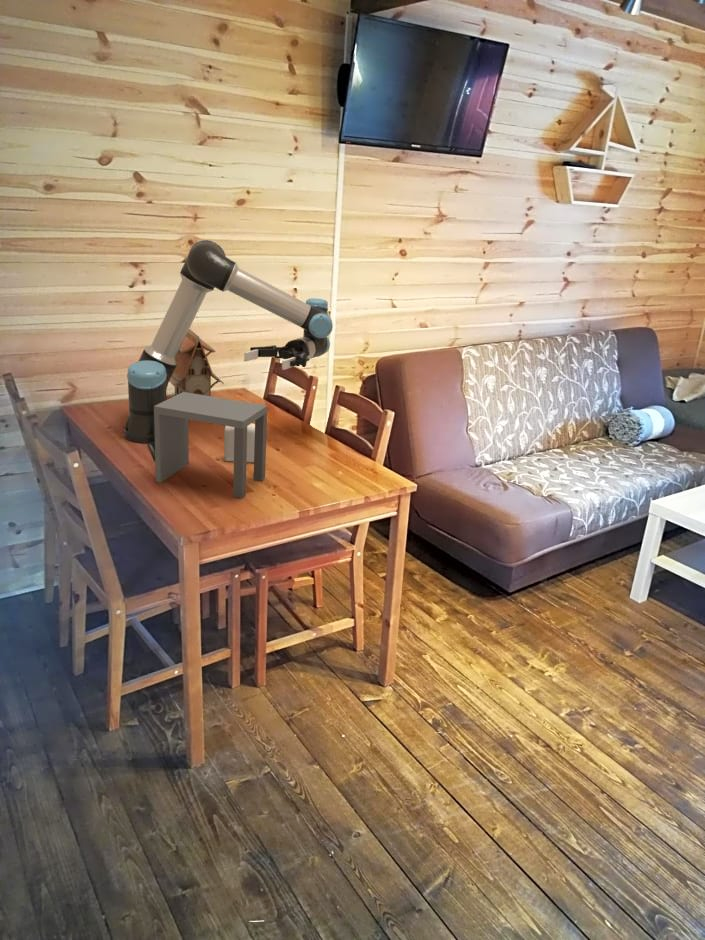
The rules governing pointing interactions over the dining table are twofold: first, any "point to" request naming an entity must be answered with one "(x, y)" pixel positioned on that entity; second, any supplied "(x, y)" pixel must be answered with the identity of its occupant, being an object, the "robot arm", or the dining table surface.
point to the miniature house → (193, 367)
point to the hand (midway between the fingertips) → (263, 361)
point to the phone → (152, 449)
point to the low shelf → (211, 410)
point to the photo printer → (230, 443)
